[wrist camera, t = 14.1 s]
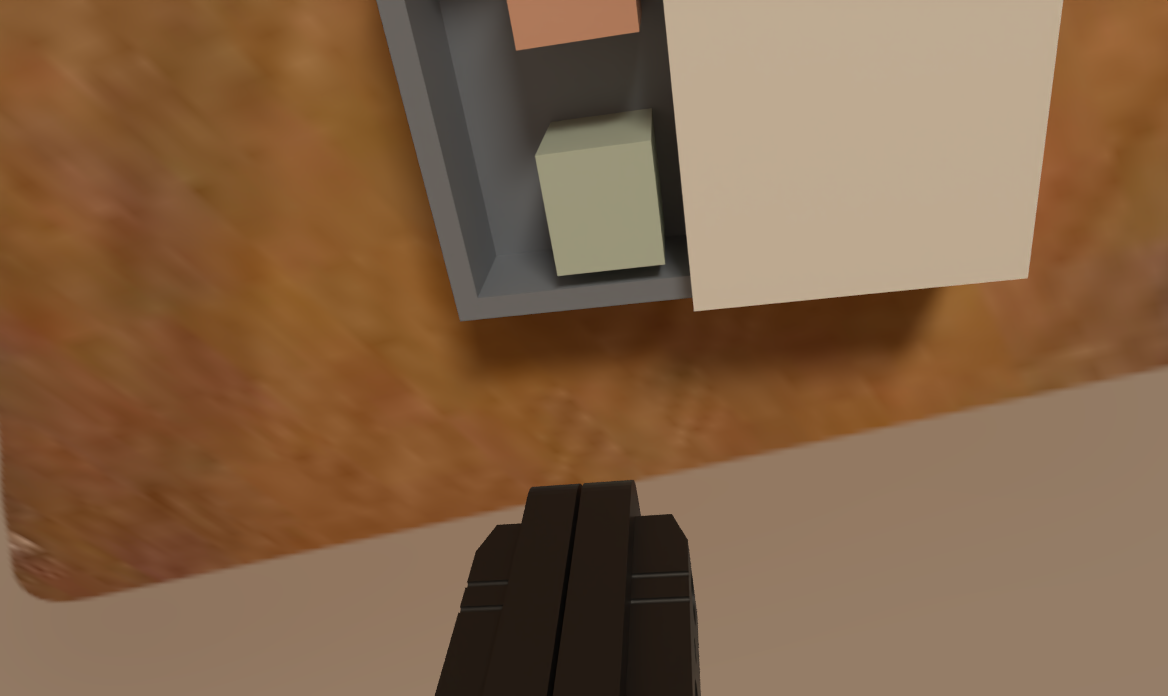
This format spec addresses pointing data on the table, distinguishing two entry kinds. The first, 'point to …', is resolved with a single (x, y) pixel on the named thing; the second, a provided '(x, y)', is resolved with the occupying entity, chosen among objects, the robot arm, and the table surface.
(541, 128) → the box
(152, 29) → the table surface
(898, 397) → the table surface
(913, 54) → the cream rectangular block
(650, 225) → the sage green cube
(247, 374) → the table surface
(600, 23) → the orange cube
